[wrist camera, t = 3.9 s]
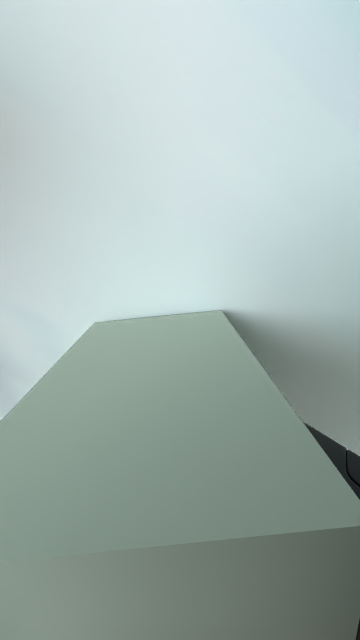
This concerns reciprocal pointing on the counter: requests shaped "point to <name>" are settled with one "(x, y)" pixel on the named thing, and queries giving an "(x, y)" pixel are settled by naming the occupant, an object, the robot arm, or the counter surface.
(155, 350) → the sage block
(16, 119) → the counter surface
